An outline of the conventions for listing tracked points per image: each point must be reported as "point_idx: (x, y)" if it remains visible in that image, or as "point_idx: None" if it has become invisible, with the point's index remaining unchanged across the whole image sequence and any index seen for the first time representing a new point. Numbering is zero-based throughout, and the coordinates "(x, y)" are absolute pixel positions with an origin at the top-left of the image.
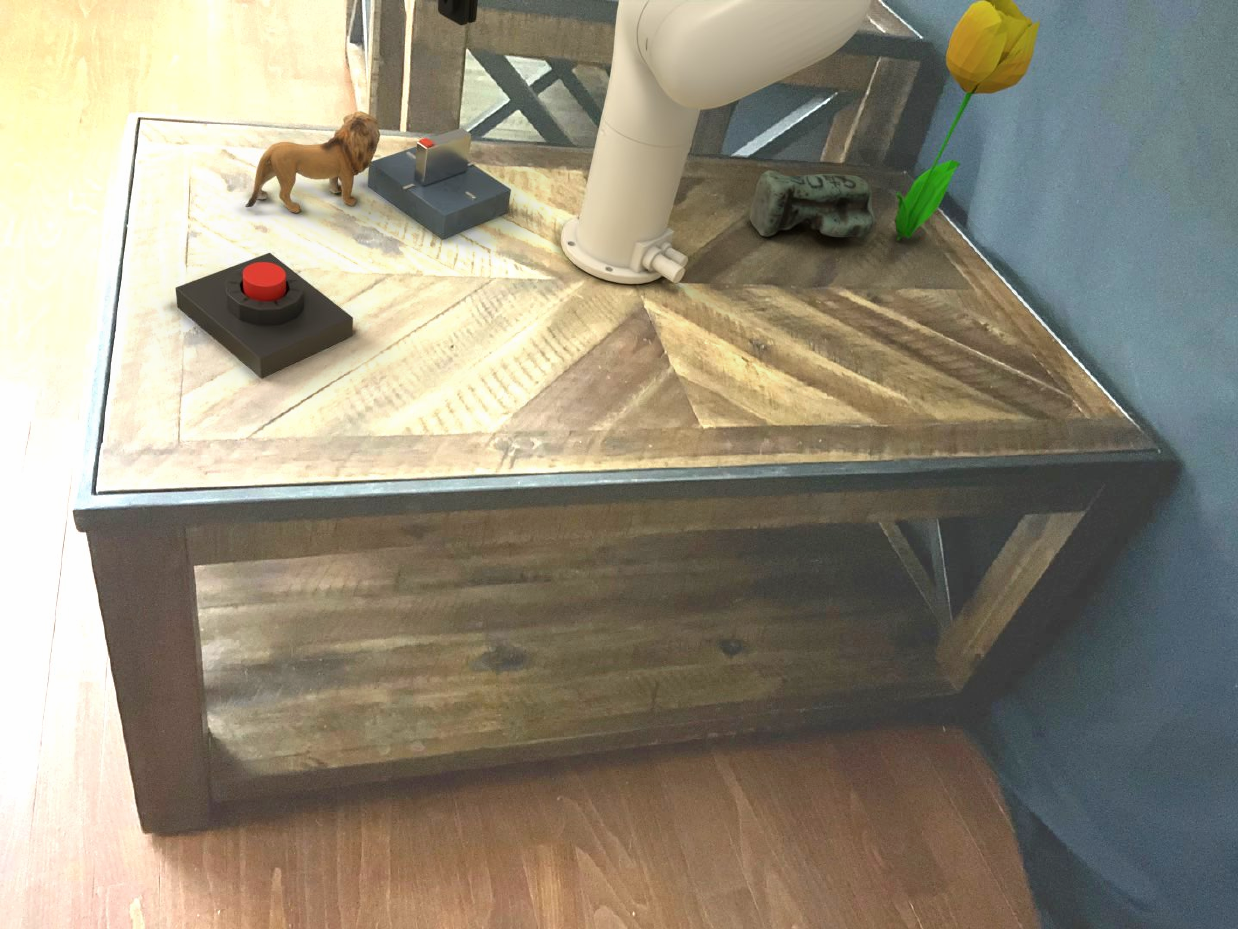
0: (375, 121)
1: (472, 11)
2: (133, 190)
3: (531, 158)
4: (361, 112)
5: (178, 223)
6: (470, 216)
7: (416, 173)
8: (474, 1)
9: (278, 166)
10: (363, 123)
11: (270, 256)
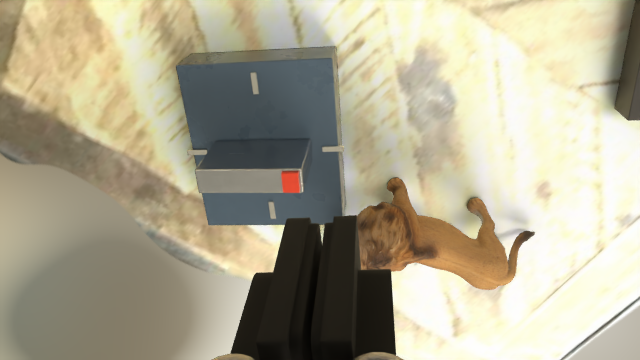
0: None
1: (305, 240)
2: (609, 318)
3: (67, 150)
4: None
5: (621, 246)
6: (274, 54)
7: (310, 161)
8: (296, 264)
9: (505, 253)
10: (368, 258)
11: (636, 111)
